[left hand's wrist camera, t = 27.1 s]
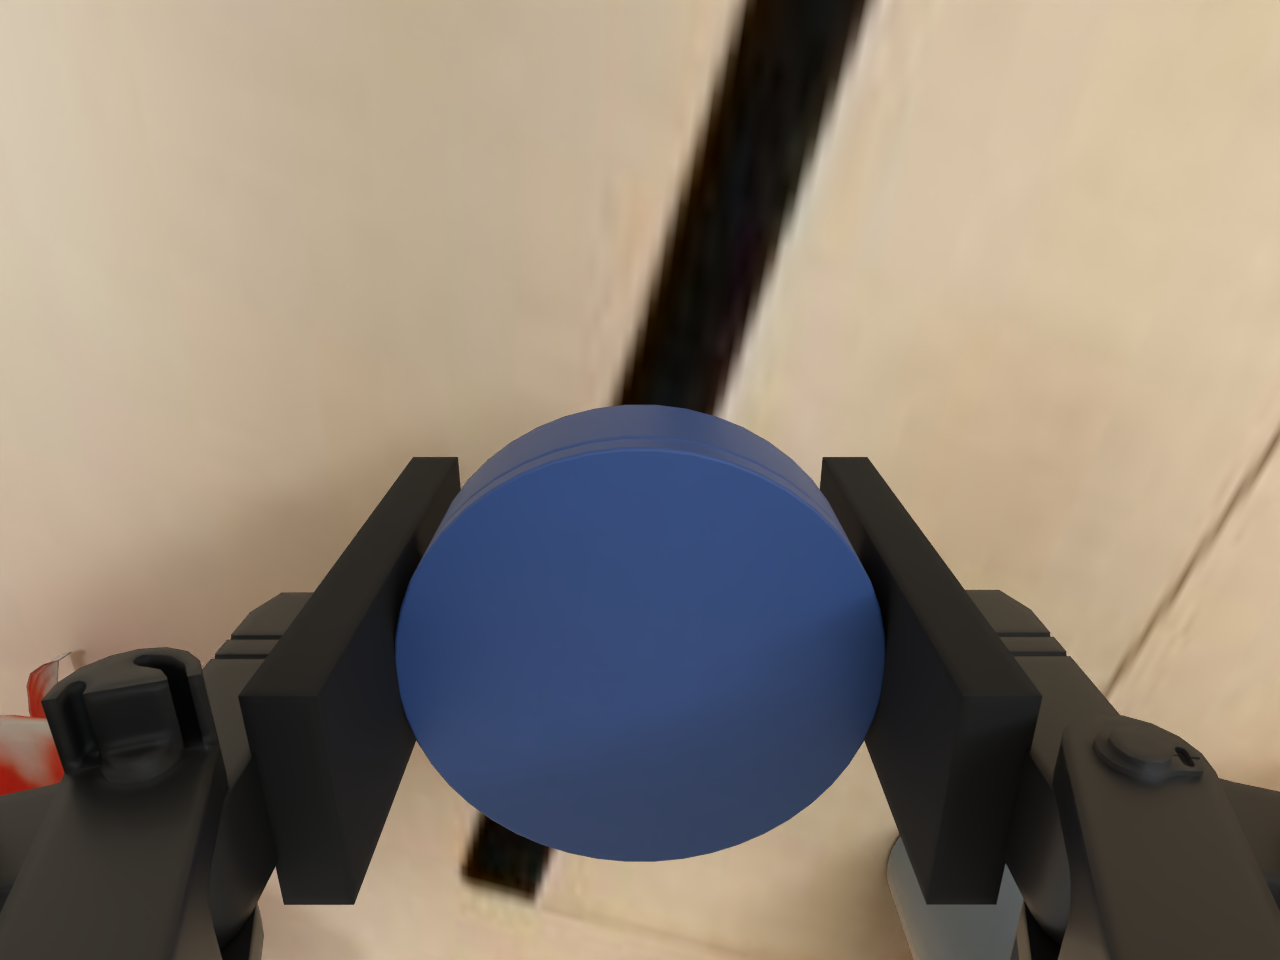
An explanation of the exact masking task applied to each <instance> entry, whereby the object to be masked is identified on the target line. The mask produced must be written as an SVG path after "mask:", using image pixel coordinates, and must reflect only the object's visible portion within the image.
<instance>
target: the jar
mask: <svg viewBox="0 0 1280 960" xmlns="http://www.w3.org/2000/svg"><path fill="white" fill-rule="evenodd" d="M887 880H888V885H889V888H890V891H891V894H892V897H893V900H894V903H895V906H896V909H897V912H898V915H899V918H900V921H901V924H902V927H903V930H904V933H905V936H906V939H907V942H908V945H909V948H910V951H911V954H912V957H913V960H1009V958H1010V953H1011V949H1012V945H1013V941H1014V937H1015V932H1016V928H1017V924H1018V920H1019V916H1020V911H1021V907H1022V903H1023V899H1024V898H1023V896H1022V894H1021V892H1020V890H1019V888H1018V886H1017V884H1016V883H1015V881H1014V879H1013V877H1012V875H1011V873H1010V871H1009V869H1008V867H1007V865H1006V864H1005V868H1004V873H1003V877H1002V882H1001V886H1000V891H999V895H998V900H997V904H996V905H926V902H925V899H924V897H923V894H922V891H921V889H920V886H919V884H918V881H917V878H916V876H915V873H914V870H913V868H912V865H911V862H910V860H909V857H908V854H907V852H906V849H905V846H904V844H903V841H902V839H901V836H900V837H899V838H898V840H897V841H896V843H895V845H894V846H893V848H892V851H891V853H890V856H889V860H888V865H887Z"/></svg>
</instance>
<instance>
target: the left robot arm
mask: <svg viewBox="0 0 1280 960" xmlns="http://www.w3.org/2000/svg"><path fill="white" fill-rule="evenodd" d="M460 490H461V488H460V477H459V465H458V457H413V458H412V460H411V461H410V462H409V464H408V465H407V466H406V468H405V469H404V470H403V472H402V473H401V475H400V476H399V477H398V479H397V480H396V481H395V483H394V484H393V485H392V487H391V488H390V490H389V491H388V492H387V494H386V495H385V496H384V498H383V499H382V500H381V502H380V503H379V505H378V506H377V507H376V509H375V510H374V511H373V513H372V514H371V515H370V517H369V518H368V520H367V521H366V522H365V524H364V525H363V526H362V528H361V529H360V530H359V532H358V533H357V535H356V536H355V537H354V539H353V540H352V541H351V543H350V544H349V545H348V547H347V548H346V550H345V551H344V552H343V554H342V555H341V556H340V558H339V559H338V560H337V562H336V563H335V565H334V566H333V567H332V569H331V570H330V571H329V573H328V574H327V575H326V577H325V578H324V579H323V581H322V582H321V584H320V585H319V586H318V588H317V589H316V590H315V592H314V593H280V594H279V595H277V596H276V597H274V598H272V599H271V600H269V601H268V602H266V603H264V604H263V605H261V606H260V607H258V608H256V609H255V610H253V611H252V612H250V613H249V615H248V616H247V617H246V618H245V619H244V620H243V622H242V623H241V624H240V625H239V626H238V628H237V629H236V630H235V631H234V632H233V634H232V635H231V640H227V641H226V642H225V643H224V644H223V645H222V647H221V648H220V649H219V650H218V651H217V653H216V654H215V659H211V660H210V661H209V662H208V663H207V665H206V666H205V667H204V668H203V669H202V668H201V663H200V660H198V659H197V658H196V657H194V656H193V655H192V654H190V653H189V652H188V651H183V650H178V649H173V648H167V647H163V648H148V649H137V650H133V651H129V652H125V653H121V654H116V655H112V656H109V657H106V658H104V659H101V660H99V661H96V662H94V663H92V664H89V665H87V666H84V667H82V668H80V669H78V670H77V671H75V672H74V673H72V674H70V675H69V676H67V677H66V678H64V679H63V680H61V681H60V682H58V683H56V684H55V685H54V687H53V688H52V689H51V690H50V691H49V692H48V693H47V694H46V695H45V697H44V698H43V699H42V700H41V704H42V707H43V710H44V713H45V716H46V719H47V722H48V725H49V728H50V731H51V734H52V737H53V740H54V743H55V746H56V749H57V752H58V755H59V758H60V761H61V764H62V767H63V770H64V775H63V777H62V780H61V782H59V783H56V784H52V785H48V786H43V787H39V788H34V789H29V790H25V791H20V792H15V793H10V794H6V795H1V796H0V960H261V955H262V946H263V937H264V934H263V927H262V921H261V916H260V911H259V907H258V903H257V902H258V900H259V898H260V896H261V894H262V892H263V890H264V888H265V886H266V884H267V882H268V880H269V878H270V876H271V874H272V872H273V870H274V868H275V866H276V870H277V875H278V879H279V884H280V888H281V893H282V897H283V902H284V905H354V903H355V901H356V898H357V895H358V893H359V890H360V888H361V885H362V882H363V880H364V877H365V874H366V872H367V869H368V866H369V864H370V861H371V858H372V856H373V853H374V851H375V848H376V845H377V843H378V840H379V837H380V835H381V832H382V829H383V827H384V824H385V821H386V819H387V816H388V813H389V811H390V808H391V806H392V803H393V800H394V798H395V795H396V792H397V790H398V787H399V784H400V782H401V779H402V776H403V774H404V771H405V768H406V766H407V763H408V761H409V758H410V755H411V753H412V750H413V747H414V745H415V742H416V738H415V736H414V733H413V731H412V729H411V727H410V725H409V723H408V720H407V718H406V715H405V712H404V708H403V705H402V702H401V698H400V692H399V684H398V677H397V669H396V661H395V634H396V629H397V623H398V618H399V612H400V608H401V605H402V602H403V599H404V596H405V593H406V591H407V588H408V585H409V582H410V580H411V578H412V576H413V574H414V572H415V571H416V569H417V567H418V565H419V563H420V561H421V559H422V557H423V556H424V554H425V552H426V550H427V548H428V546H429V544H430V542H431V540H432V539H433V537H434V535H435V533H436V531H437V529H438V527H439V525H440V524H441V522H442V520H443V518H444V516H445V514H446V512H447V511H448V509H449V507H450V505H451V503H452V501H453V500H454V498H455V497H456V496H457V494H458V493H459V492H460ZM820 491H821V492H822V494H823V495H824V496H825V498H826V499H827V500H828V502H829V504H830V506H831V508H832V509H833V511H834V513H835V515H836V517H837V519H838V521H839V523H840V524H841V526H842V528H843V530H844V532H845V534H846V536H847V538H848V539H849V541H850V543H851V545H852V547H853V549H854V551H855V553H856V554H857V556H858V558H859V560H860V562H861V564H862V566H863V568H864V569H865V571H866V573H867V575H868V577H869V579H870V581H871V583H872V586H873V589H874V592H875V595H876V597H877V600H878V603H879V606H880V609H881V615H882V620H883V626H884V631H885V642H886V657H885V666H884V674H883V681H882V689H881V696H880V700H879V704H878V707H877V711H876V714H875V717H874V720H873V722H872V724H871V726H870V728H869V730H868V733H867V735H866V737H865V739H864V741H865V743H866V746H867V749H868V751H869V754H870V757H871V759H872V762H873V764H874V767H875V770H876V772H877V775H878V778H879V780H880V783H881V786H882V788H883V791H884V794H885V796H886V799H887V802H888V804H889V807H890V809H891V812H892V815H893V817H894V820H895V823H896V825H897V828H898V831H899V833H900V836H901V839H902V841H903V844H904V846H905V849H906V852H907V854H908V857H909V860H910V862H911V865H912V868H913V870H914V873H915V876H916V878H917V881H918V884H919V886H920V889H921V891H922V894H923V897H924V899H925V902H926V905H996V904H997V900H998V895H999V891H1000V886H1001V882H1002V877H1003V873H1004V868H1005V864H1006V865H1007V867H1008V869H1009V871H1010V873H1011V875H1012V877H1013V879H1014V881H1015V883H1016V884H1017V886H1018V888H1019V890H1020V892H1021V894H1022V896H1023V898H1024V899H1023V903H1022V907H1021V911H1020V916H1019V920H1018V924H1017V928H1016V932H1015V937H1014V941H1013V945H1012V949H1011V953H1010V958H1009V960H1280V792H1278V791H1273V790H1268V789H1264V788H1259V787H1254V786H1249V785H1245V784H1240V783H1235V782H1231V781H1227V780H1224V779H1220V778H1218V776H1217V774H1216V772H1215V770H1214V769H1213V768H1212V766H1211V765H1210V764H1209V762H1208V761H1207V760H1206V758H1205V757H1204V756H1203V754H1202V753H1200V752H1199V751H1198V750H1196V749H1195V748H1194V747H1192V746H1191V745H1190V744H1188V743H1187V742H1186V741H1184V740H1183V739H1182V738H1180V737H1179V736H1177V735H1175V734H1172V733H1170V732H1168V731H1166V730H1164V729H1162V728H1160V727H1158V726H1156V725H1154V724H1151V723H1148V722H1144V721H1141V720H1137V719H1133V718H1130V717H1126V716H1121V715H1120V714H1119V713H1118V712H1117V711H1116V710H1115V709H1114V707H1113V706H1112V705H1111V704H1110V703H1109V701H1108V700H1107V699H1106V698H1105V697H1104V696H1103V694H1102V693H1101V692H1100V691H1099V690H1098V688H1097V687H1096V686H1095V685H1094V684H1093V683H1092V681H1091V680H1090V679H1089V678H1088V677H1087V675H1086V674H1085V673H1084V672H1083V671H1082V670H1081V668H1080V667H1079V666H1078V665H1077V664H1076V662H1075V661H1074V660H1073V659H1072V658H1071V657H1070V656H1066V651H1065V649H1064V648H1063V647H1062V646H1061V645H1060V644H1059V642H1058V641H1057V640H1056V639H1055V638H1054V637H1050V632H1049V631H1048V629H1047V628H1046V627H1045V626H1044V625H1043V623H1042V622H1041V621H1040V620H1039V619H1038V618H1037V616H1036V615H1035V614H1034V613H1033V612H1032V610H1031V609H1029V608H1027V607H1026V606H1024V605H1023V604H1021V603H1019V602H1018V601H1016V600H1014V599H1013V598H1011V597H1010V596H1008V595H1006V594H1005V593H1003V592H1002V591H1000V590H964V588H963V587H962V586H961V584H960V583H959V581H958V580H957V579H956V577H955V576H954V575H953V573H952V572H951V571H950V569H949V568H948V566H947V565H946V564H945V562H944V561H943V560H942V558H941V557H940V556H939V554H938V553H937V551H936V550H935V549H934V547H933V546H932V545H931V543H930V542H929V541H928V539H927V538H926V536H925V535H924V534H923V532H922V531H921V530H920V528H919V527H918V526H917V524H916V523H915V522H914V520H913V519H912V517H911V516H910V515H909V513H908V512H907V511H906V509H905V508H904V507H903V505H902V504H901V502H900V501H899V500H898V498H897V497H896V496H895V494H894V493H893V492H892V490H891V489H890V487H889V486H888V485H887V483H886V482H885V481H884V479H883V478H882V477H881V475H880V474H879V472H878V471H877V470H876V468H875V467H874V466H873V464H872V463H871V462H870V460H869V459H868V458H867V457H823V460H822V471H821V483H820Z"/></svg>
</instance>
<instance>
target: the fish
mask: <svg viewBox="0 0 1280 960" xmlns="http://www.w3.org/2000/svg"><path fill="white" fill-rule="evenodd" d="M70 653H71V652H70ZM70 653H67V654H63V655H60V656H58V657H56V658H54V659H53V660H52V661H51V662H50V663H47V664H44V665H42V666H40V667H39V668H37V669H36V670H35V671H33V672H32V673H30V676H29V679H28V683H27V693H28V703H29V712H30V716H31V717H26V716H17V715H0V796H1V795H6V794H10V793H15V792H20V791H25V790H29V789H34V788H39V787H43V786H48V785H52V784H56V783H59V782H61V780H62V777H63V775H64V770H63V767H62V764H61V761H60V758H59V755H58V752H57V749H56V746H55V743H54V740H53V737H52V734H51V731H50V728H49V725H48V722H47V719H46V716H45V713H44V710H43V707H42V704H41V700H42V699H43V698H44V697H45V695H46V694H47V693H48V692H49V691H50V690H51V689H52V688H53V687H54V685H55V684H56V683H58V664H59V660H61V659H63V658H64V657H65V656H67V655H68V654H70Z"/></svg>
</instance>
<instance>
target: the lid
mask: <svg viewBox="0 0 1280 960" xmlns="http://www.w3.org/2000/svg"><path fill="white" fill-rule="evenodd" d="M885 657H886V642H885V631H884V626H883V620H882V615H881V609H880V606H879V603H878V600H877V597H876V595H875V592H874V589H873V586H872V583H871V581H870V579H869V577H868V575H867V573H866V571H865V569H864V568H863V566H862V564H861V562H860V560H859V558H858V556H857V554H856V553H855V551H854V549H853V547H852V545H851V543H850V541H849V539H848V538H847V536H846V534H845V532H844V530H843V528H842V526H841V524H840V523H839V521H838V519H837V517H836V515H835V513H834V511H833V509H832V508H831V506H830V504H829V502H828V500H827V499H826V498H825V496H824V495H823V494H822V492H821V491H820V490H819V488H818V487H817V486H816V484H815V483H814V482H813V480H812V479H811V478H810V477H809V476H808V475H807V474H806V473H805V472H804V471H803V470H802V469H801V468H800V467H799V466H798V465H797V464H796V463H795V462H794V461H793V460H792V459H791V458H790V457H788V456H787V455H786V454H784V453H783V452H782V451H780V450H779V449H778V448H776V447H775V446H774V445H772V444H771V443H770V442H768V441H766V440H765V439H763V438H761V437H759V436H758V435H756V434H754V433H752V432H750V431H749V430H747V429H745V428H743V427H741V426H738V425H736V424H733V423H731V422H728V421H726V420H723V419H721V418H718V417H716V416H712V415H708V414H704V413H700V412H696V411H693V410H689V409H683V408H675V407H668V406H660V405H621V406H613V407H605V408H597V409H592V410H588V411H584V412H580V413H576V414H573V415H569V416H565V417H562V418H560V419H557V420H555V421H552V422H550V423H547V424H545V425H542V426H540V427H537V428H535V429H534V430H532V431H530V432H528V433H527V434H525V435H523V436H521V437H519V438H518V439H516V440H514V441H512V442H511V443H509V444H508V445H507V446H506V447H504V448H503V449H502V450H500V451H499V452H498V453H496V454H495V455H494V456H492V457H491V458H490V459H488V460H487V461H486V462H485V463H484V464H483V465H482V466H481V467H480V468H479V469H478V470H477V471H476V472H475V473H474V474H473V475H472V476H471V478H470V479H469V480H468V481H467V482H466V484H465V485H464V486H463V488H462V489H461V490H460V492H459V493H458V494H457V496H456V497H455V498H454V500H453V501H452V503H451V505H450V507H449V509H448V511H447V512H446V514H445V516H444V518H443V520H442V522H441V524H440V525H439V527H438V529H437V531H436V533H435V535H434V537H433V539H432V540H431V542H430V544H429V546H428V548H427V550H426V552H425V554H424V556H423V557H422V559H421V561H420V563H419V565H418V567H417V569H416V571H415V572H414V574H413V576H412V578H411V580H410V582H409V585H408V588H407V591H406V593H405V596H404V599H403V602H402V605H401V608H400V612H399V618H398V623H397V629H396V634H395V661H396V669H397V677H398V684H399V692H400V698H401V702H402V705H403V708H404V712H405V715H406V718H407V720H408V723H409V725H410V727H411V729H412V731H413V733H414V736H415V738H416V740H417V742H418V744H419V745H420V747H421V748H422V750H423V751H424V753H425V755H426V756H427V758H428V759H429V761H430V762H431V764H432V765H433V766H434V768H435V769H436V770H437V771H438V772H439V773H440V775H441V776H442V777H443V778H444V779H445V781H446V782H447V783H448V784H449V785H450V786H451V787H452V788H453V789H454V790H455V791H456V792H457V793H458V794H460V795H461V796H462V797H463V798H464V799H465V800H466V801H467V802H468V803H469V804H471V805H472V806H473V807H475V808H476V809H478V810H479V811H480V812H482V813H483V814H485V815H486V816H487V817H489V818H490V819H491V820H493V821H495V822H497V823H498V824H500V825H502V826H504V827H506V828H507V829H509V830H511V831H513V832H514V833H516V834H519V835H521V836H523V837H526V838H528V839H530V840H533V841H535V842H537V843H540V844H542V845H545V846H548V847H551V848H555V849H558V850H561V851H564V852H568V853H572V854H577V855H582V856H587V857H592V858H597V859H606V860H616V861H643V862H655V861H665V860H675V859H684V858H689V857H694V856H699V855H704V854H709V853H713V852H716V851H719V850H723V849H726V848H729V847H732V846H736V845H739V844H741V843H743V842H746V841H748V840H750V839H753V838H755V837H757V836H760V835H762V834H764V833H766V832H768V831H770V830H772V829H773V828H775V827H777V826H779V825H780V824H782V823H784V822H786V821H788V820H789V819H791V818H792V817H793V816H795V815H796V814H798V813H799V812H800V811H802V810H803V809H804V808H806V807H807V806H809V805H810V804H811V803H812V802H813V801H815V800H816V799H817V798H818V797H819V796H820V795H821V794H822V793H823V792H824V791H825V790H827V789H828V788H829V787H830V786H831V785H832V784H833V783H834V781H835V780H836V779H837V778H838V777H839V775H840V774H841V773H842V772H843V771H844V769H845V768H846V767H847V766H848V765H849V763H850V762H851V760H852V759H853V757H854V756H855V754H856V752H857V751H858V749H859V748H860V746H861V745H862V743H863V741H864V739H865V737H866V735H867V733H868V730H869V728H870V726H871V724H872V722H873V720H874V717H875V714H876V711H877V707H878V704H879V700H880V696H881V689H882V681H883V674H884V666H885Z"/></svg>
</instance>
